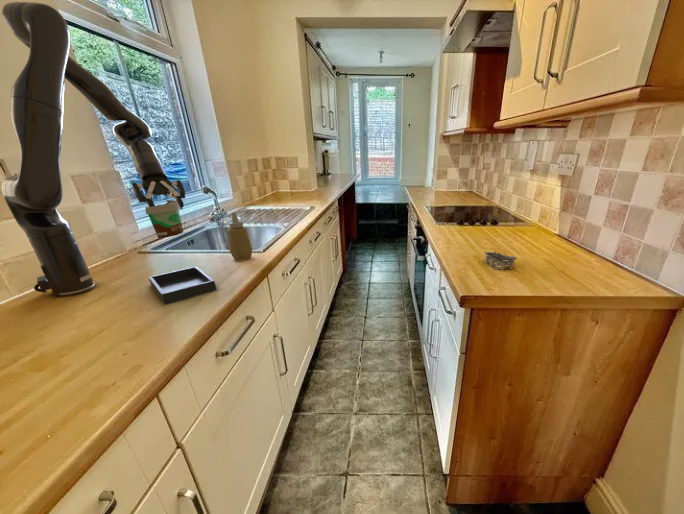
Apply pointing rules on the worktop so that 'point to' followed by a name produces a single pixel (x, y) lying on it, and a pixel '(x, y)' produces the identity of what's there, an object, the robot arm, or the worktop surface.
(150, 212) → the food container
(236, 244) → the squeeze bottle
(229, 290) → the worktop surface
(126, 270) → the worktop surface
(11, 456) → the worktop surface
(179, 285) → the tray
